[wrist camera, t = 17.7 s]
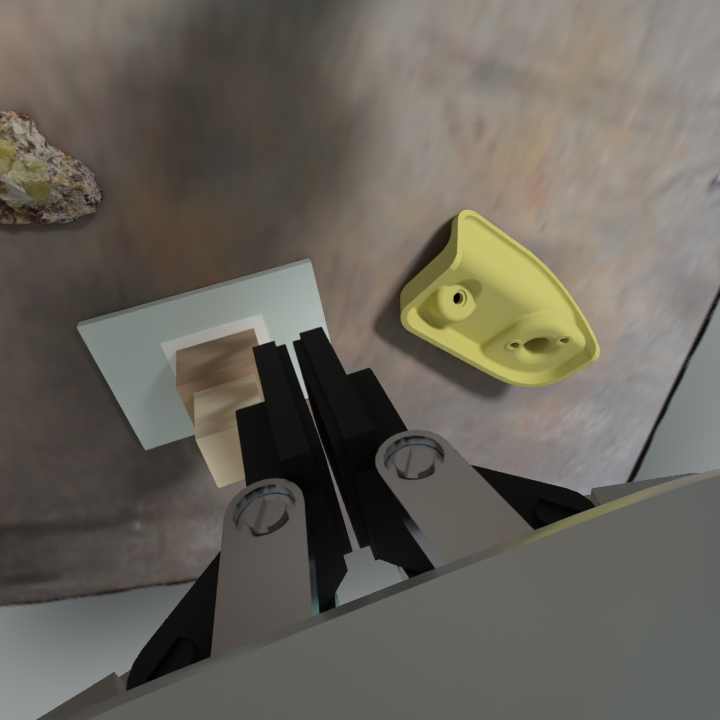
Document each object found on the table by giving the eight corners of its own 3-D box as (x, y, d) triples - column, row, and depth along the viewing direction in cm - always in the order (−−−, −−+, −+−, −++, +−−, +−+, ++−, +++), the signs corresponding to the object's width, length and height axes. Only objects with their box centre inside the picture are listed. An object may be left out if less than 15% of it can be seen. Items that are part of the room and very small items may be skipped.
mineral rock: (-90, 214, 34) (-95, 98, 29) (-66, 183, 37) (-67, 73, 32) (89, 262, 39) (109, 169, 34) (97, 231, 42) (117, 141, 37)
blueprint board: (308, 257, 46) (311, 262, 45) (338, 382, 53) (341, 388, 52) (78, 322, 42) (76, 328, 41) (145, 444, 50) (145, 451, 49)
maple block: (254, 374, 42) (264, 417, 37) (270, 420, 44) (282, 466, 39) (193, 393, 41) (195, 440, 36) (214, 438, 44) (218, 488, 39)
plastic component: (389, 321, 49) (466, 252, 42) (389, 268, 53) (458, 199, 47) (531, 398, 57) (614, 351, 51) (520, 347, 62) (594, 298, 56)
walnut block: (253, 327, 46) (262, 361, 41) (273, 388, 50) (284, 425, 45) (176, 350, 45) (175, 387, 40) (203, 411, 49) (205, 451, 44)
